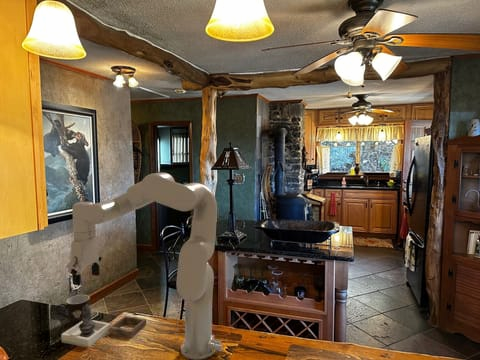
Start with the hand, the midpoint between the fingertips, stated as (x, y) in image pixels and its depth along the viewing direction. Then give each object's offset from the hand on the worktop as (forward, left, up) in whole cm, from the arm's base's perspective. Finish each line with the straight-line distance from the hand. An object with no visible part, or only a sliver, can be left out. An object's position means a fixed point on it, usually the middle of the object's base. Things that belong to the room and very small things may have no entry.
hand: (86, 279), depth 122 cm
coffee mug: (+12, -7, -22) cm, 27 cm away
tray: (0, 0, -22) cm, 22 cm away
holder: (-12, -9, -22) cm, 27 cm away
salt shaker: (0, 0, -21) cm, 21 cm away
